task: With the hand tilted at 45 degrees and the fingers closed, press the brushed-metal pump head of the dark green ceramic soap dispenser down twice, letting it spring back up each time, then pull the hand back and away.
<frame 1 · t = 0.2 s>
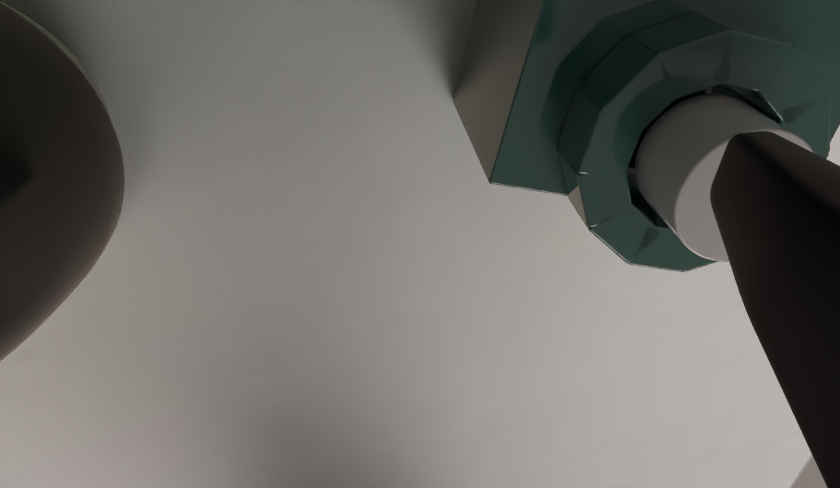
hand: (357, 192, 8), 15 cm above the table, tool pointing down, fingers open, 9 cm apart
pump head: (720, 176, 16), point 9 cm above the table, slide at 0.1 cm
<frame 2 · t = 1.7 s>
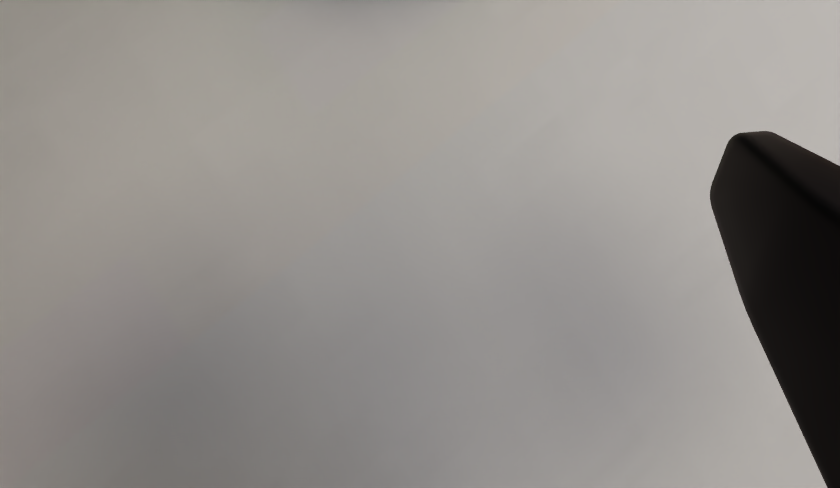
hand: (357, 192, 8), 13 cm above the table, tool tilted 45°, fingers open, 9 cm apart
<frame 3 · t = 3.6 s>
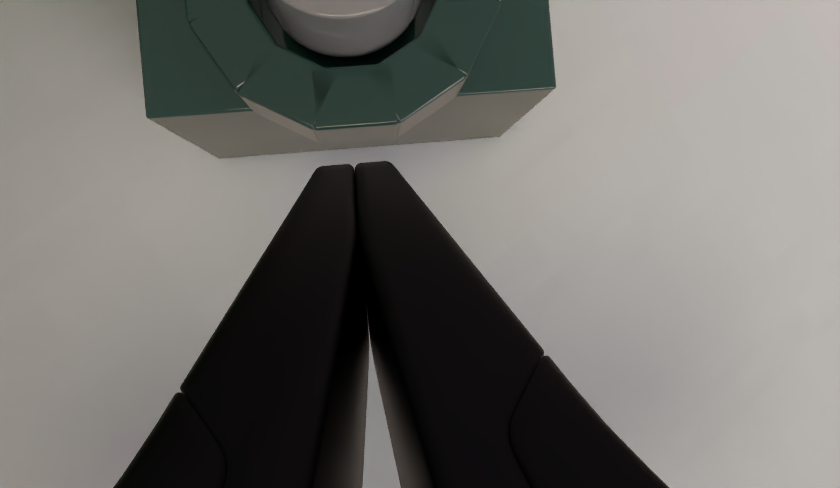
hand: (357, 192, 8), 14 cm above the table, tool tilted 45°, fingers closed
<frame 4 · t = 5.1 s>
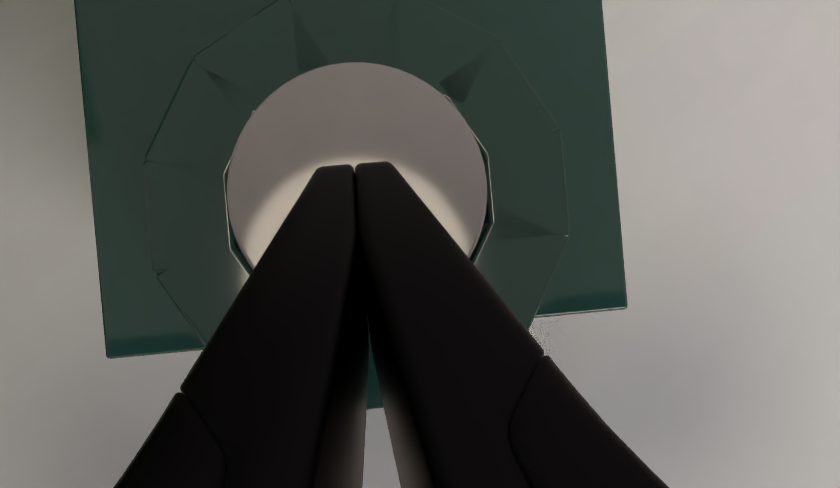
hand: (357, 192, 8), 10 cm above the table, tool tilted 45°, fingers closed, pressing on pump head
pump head: (360, 197, 9), point 9 cm above the table, slide at -0.3 cm, touching gripper
soap dispenser: (357, 115, 18), on the table
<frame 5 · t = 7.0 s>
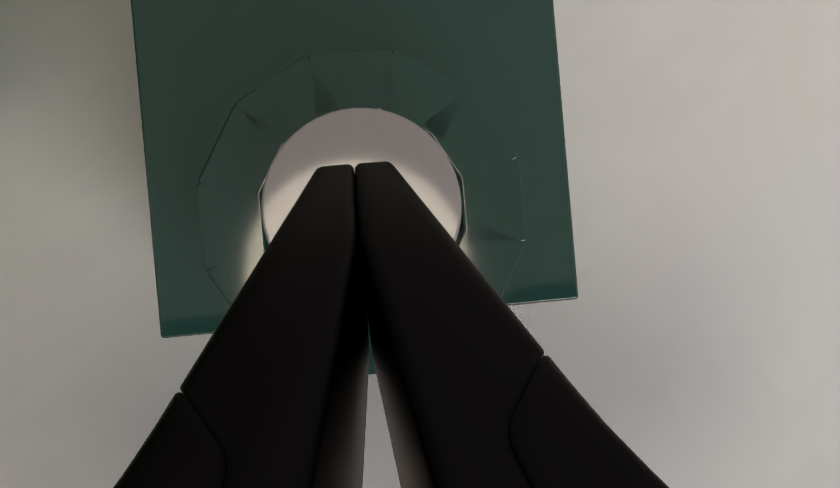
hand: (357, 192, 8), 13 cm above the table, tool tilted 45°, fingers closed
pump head: (363, 210, 12), point 9 cm above the table, slide at 0.1 cm
soap dispenser: (360, 135, 21), on the table
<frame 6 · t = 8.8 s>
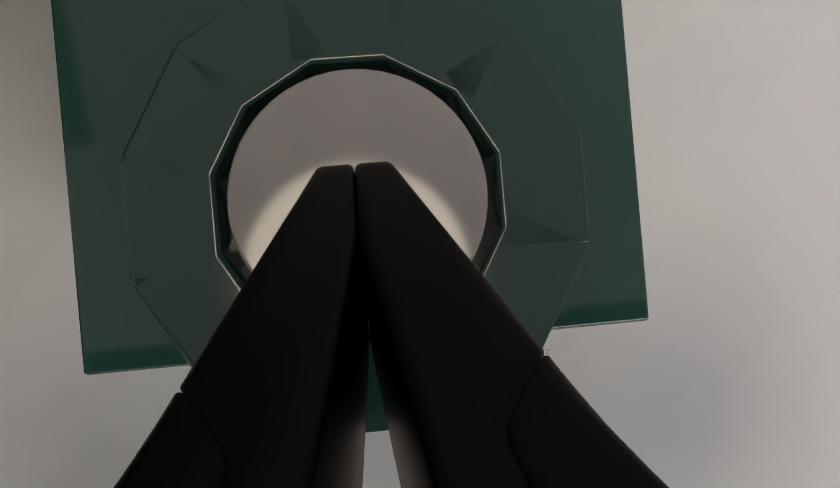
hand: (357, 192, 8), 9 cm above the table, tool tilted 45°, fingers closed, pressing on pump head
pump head: (360, 204, 9), point 8 cm above the table, slide at -1.2 cm, touching gripper
soap dispenser: (357, 114, 17), on the table
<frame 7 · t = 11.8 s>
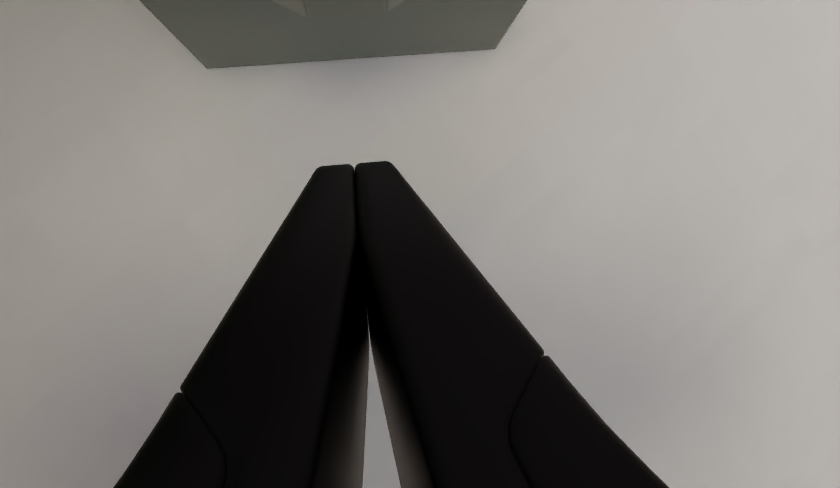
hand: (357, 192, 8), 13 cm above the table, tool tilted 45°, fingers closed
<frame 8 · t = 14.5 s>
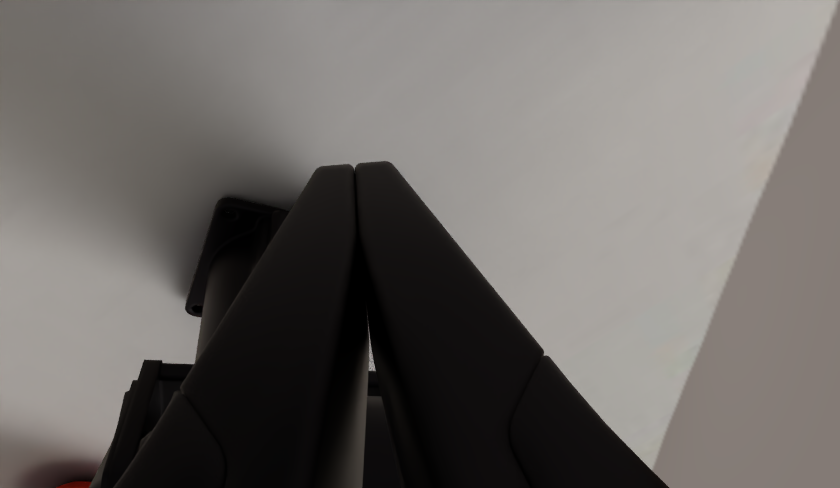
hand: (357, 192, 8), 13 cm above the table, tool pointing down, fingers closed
apple: (94, 486, 39), on the table
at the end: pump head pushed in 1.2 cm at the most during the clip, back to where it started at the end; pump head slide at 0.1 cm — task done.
